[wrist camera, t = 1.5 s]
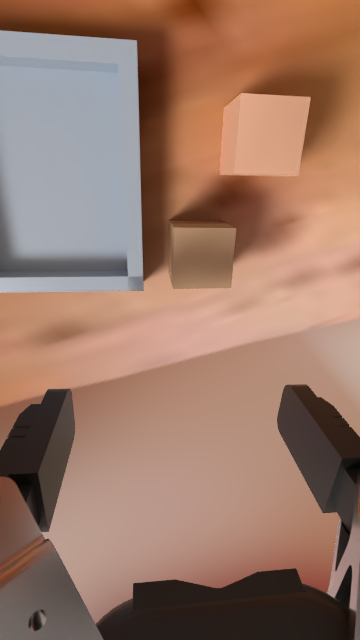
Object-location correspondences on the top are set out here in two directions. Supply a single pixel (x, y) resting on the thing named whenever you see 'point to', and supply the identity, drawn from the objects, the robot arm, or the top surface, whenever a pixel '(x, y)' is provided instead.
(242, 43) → the top surface
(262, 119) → the block terracotta
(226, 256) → the block walnut
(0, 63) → the tray
